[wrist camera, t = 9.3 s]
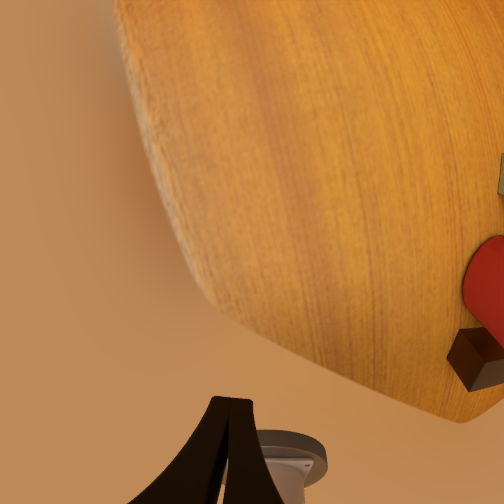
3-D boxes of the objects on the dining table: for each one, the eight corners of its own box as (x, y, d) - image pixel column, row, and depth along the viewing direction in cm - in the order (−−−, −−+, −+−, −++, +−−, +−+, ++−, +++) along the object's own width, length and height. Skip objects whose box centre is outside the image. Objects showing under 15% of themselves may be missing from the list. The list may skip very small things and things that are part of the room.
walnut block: (501, 349, 19) (523, 376, 15) (446, 358, 20) (468, 392, 15) (513, 324, 18) (538, 349, 14) (459, 329, 18) (486, 362, 14)
